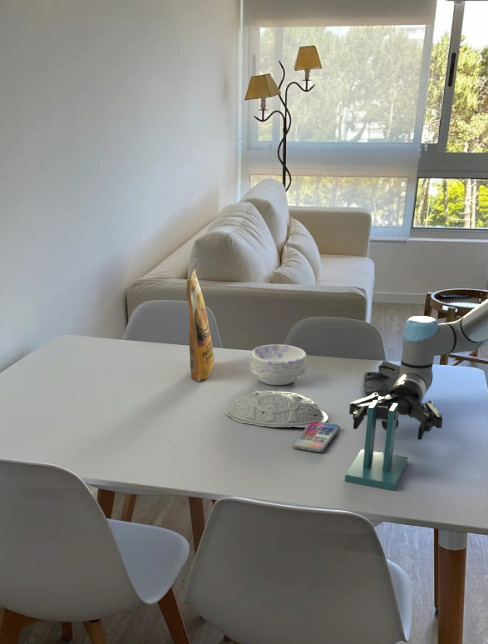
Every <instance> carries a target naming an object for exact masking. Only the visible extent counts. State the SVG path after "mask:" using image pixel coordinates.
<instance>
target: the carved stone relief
mask: <svg viewBox="0 0 488 644" xmlns="http://www.w3.org/2000/svg"><path fill="white" fill-rule="evenodd" d="M225 415H226V416H227V417H230V418H232V419H233V420H234V421H235V422H238V423H242V424H248V425H249V424H250V425H254V426H259V427H269V428H292V427H295V428H306V427H307V426H308V425H309V424H312V423H315V422H318V421H319V422H325V423H327V422H328V420H329V416H328V415H327V413H326V412H324V411H322V410H321V409H320V407H319V406H318V404H317V403H315V402H314V401H313V400H312V399H310V398H308V397H306V396H304V395H302V394H300V393H295V392H289V391H279V390H274V391H272V390H256V391H253V392H249V393H247V394H243V395H242V396H239V397H238V398H236V400H235V401H234V402H233V404H232V405H230V406H229V410H226V411H225Z"/></svg>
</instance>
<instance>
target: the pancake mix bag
mask: <svg viewBox="0 0 488 644" xmlns="http://www.w3.org/2000/svg"><path fill="white" fill-rule="evenodd" d="M186 299H187V303H188V308H189V309H188V310H189V330H188V331H189V332H188V333H189V334H188V340H189V341H188V342H189V343H188V345H189V347H188V348H189V367H190V378H191V379H192V380H193V381H195V382H201V381H204V380H205V381H206V380H207V379H209V377H210V376H211V375H210V374H211V373H212V371H213V370H214V368H215V367H214V366H215V356H214V347H213V341H212V336H211V331H210V324H209V319H208V314H207V309H206V304H205V300H204V295H203V291H202V289H201V286H200V282H199V279H198V276H197V273H196V268H193V270H191V272H190V273H189V277H188V279H187V281H186Z"/></svg>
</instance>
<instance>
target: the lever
mask: <svg viewBox="0 0 488 644" xmlns="http://www.w3.org/2000/svg"><path fill="white" fill-rule="evenodd" d="M388 413H389V408H388V407H381V406H377V410H376V415H375V418H376V419H377V420H376V421H380V424H381V427H382V428H383V430H384V431H386V432H387V422H388ZM399 424H400V422H399V418H398V419H397V421H396V429H398V427H399Z"/></svg>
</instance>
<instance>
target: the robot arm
mask: <svg viewBox="0 0 488 644" xmlns="http://www.w3.org/2000/svg"><path fill="white" fill-rule="evenodd" d="M402 339H403V340H402V352H401V359H400V365H399V366H400V375H399V378H398V380H397V381H396V383H395V384H394V385H393V387H392V389H391V390H390V392H389V394H388V395H387V396H385V397H384V398H383V397H379V396H378V393H373V394H372V395H371V396H368V397H367V396H364V397H363V398H360V399H357V400H354V401H351V402H349V411H348V412H349V413H348V414H349V415H352V420H353V427H352V429H353V430H357V429H358V428H359V427H360V425H361V424H362V423H363V421H364V420H365V417H366V416H368V415H367V410H368V407H369V406H370V404H371V403H372V401H373V400H378V406H381V407H388V408H389V409H390V408H391V406H392V405H393V403H398V411H397V413H399V414H398V415H403V416H408V417H410V418H412V419H415V420H417V421H418V422H419V423H420V424H419V427H418V431H417V440H419V441H422V439H423V437H424V435H425V432H427V433H429V432H431V430H432V429H433V427H435V429H442V427H443V421H444V416H443V415H442V413H440V411H439V410H438V409H437V408H436V406H435V405H434V400H427V402H424V403H422V402H423V400H424V398H425V396H426V394H427V392H428V391H429V389H430V387H431V386H432V383H433V378H434V373H433V366H434V359H435V357H436V356H442V355H443V356H444V355H450V354H457V353H466V352H473V351H477V350H479V349H483V348H484V347H485V346H486V344H487V342H488V298H487V299H486V300H485V301H483V302H482V303H481V304H479V305H477V306H476V307H475V308H473V309H472V310H470V311H469V312H468V313H467V314H465V315H463V316H462V317H461V318H459V319H458V320H455V321H450V322H444V323H438V320H437V319H436V318H434V317H430V316H425V315H423V316H420V315H419V316H418V315H417V316H410V317H409V318H408V319H407V320H406V322H405V326H404V330H403V335H402Z"/></svg>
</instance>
